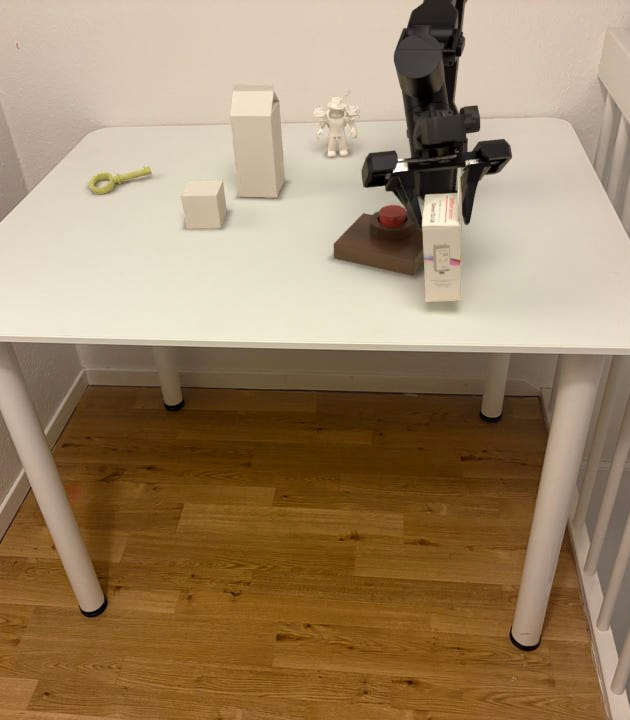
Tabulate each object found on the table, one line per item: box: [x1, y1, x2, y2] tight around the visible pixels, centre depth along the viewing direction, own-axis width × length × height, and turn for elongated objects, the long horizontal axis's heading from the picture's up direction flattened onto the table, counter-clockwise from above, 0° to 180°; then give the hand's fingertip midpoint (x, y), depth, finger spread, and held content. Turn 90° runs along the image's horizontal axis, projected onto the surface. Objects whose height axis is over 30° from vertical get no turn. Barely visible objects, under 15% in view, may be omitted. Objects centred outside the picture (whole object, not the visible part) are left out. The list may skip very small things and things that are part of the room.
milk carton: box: [229, 83, 286, 199], centre depth 127 cm, size 7×7×19 cm
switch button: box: [379, 204, 407, 226], centre depth 111 cm, size 4×4×2 cm
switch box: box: [333, 210, 424, 277], centre depth 112 cm, size 11×13×4 cm
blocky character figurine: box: [312, 90, 361, 158], centre depth 141 cm, size 9×4×12 cm, turn 89°
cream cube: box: [180, 179, 228, 229], centre depth 123 cm, size 6×6×6 cm
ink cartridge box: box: [422, 172, 463, 303], centre depth 95 cm, size 9×5×15 cm, turn 170°
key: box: [88, 165, 152, 195], centre depth 140 cm, size 7×12×2 cm, turn 123°
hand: (444, 226), depth 94 cm, fingers closed on ink cartridge box, 6 cm apart
